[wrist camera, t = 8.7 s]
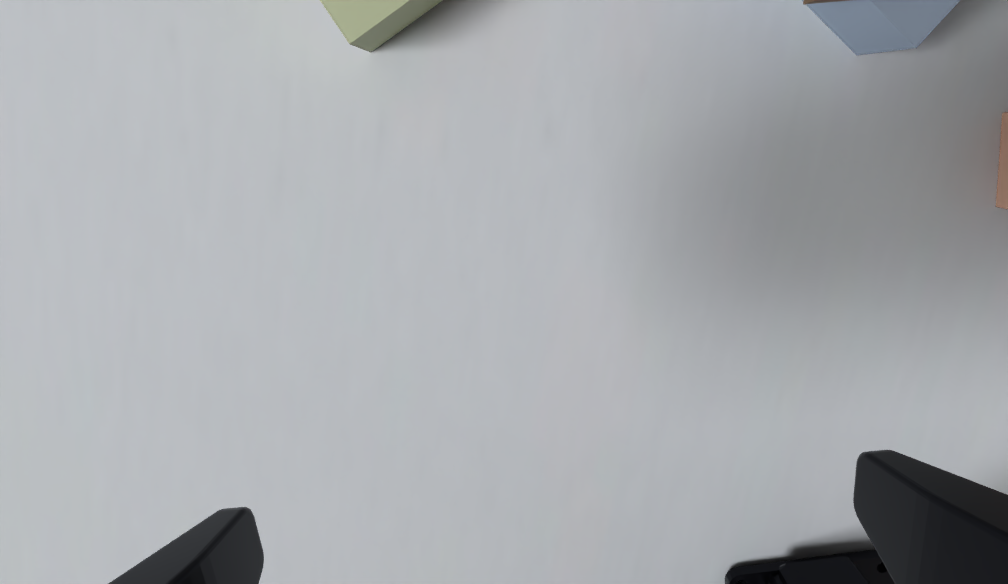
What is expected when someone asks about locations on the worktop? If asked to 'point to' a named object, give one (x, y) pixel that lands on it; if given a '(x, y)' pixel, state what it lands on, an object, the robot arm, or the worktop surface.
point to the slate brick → (882, 22)
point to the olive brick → (375, 18)
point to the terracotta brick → (1003, 166)
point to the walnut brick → (820, 1)
